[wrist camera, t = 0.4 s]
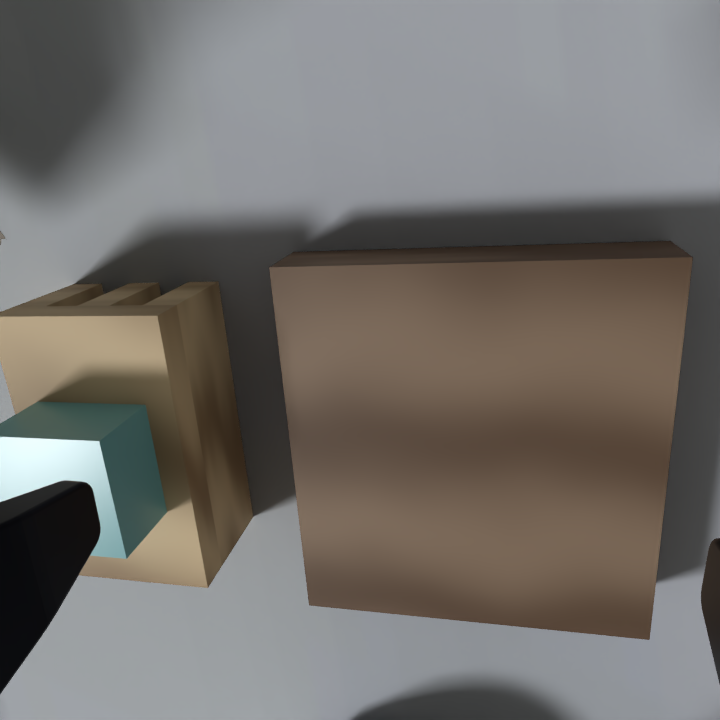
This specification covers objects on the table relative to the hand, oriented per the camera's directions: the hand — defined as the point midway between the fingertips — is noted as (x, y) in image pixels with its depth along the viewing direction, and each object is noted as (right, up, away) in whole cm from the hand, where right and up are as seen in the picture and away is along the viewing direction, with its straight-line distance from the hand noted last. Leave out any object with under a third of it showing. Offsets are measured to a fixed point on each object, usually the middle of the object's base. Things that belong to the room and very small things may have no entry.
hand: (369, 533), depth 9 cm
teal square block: (-9, -1, +12) cm, 15 cm away
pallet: (-8, +1, +16) cm, 18 cm away
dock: (+4, 0, +14) cm, 14 cm away
